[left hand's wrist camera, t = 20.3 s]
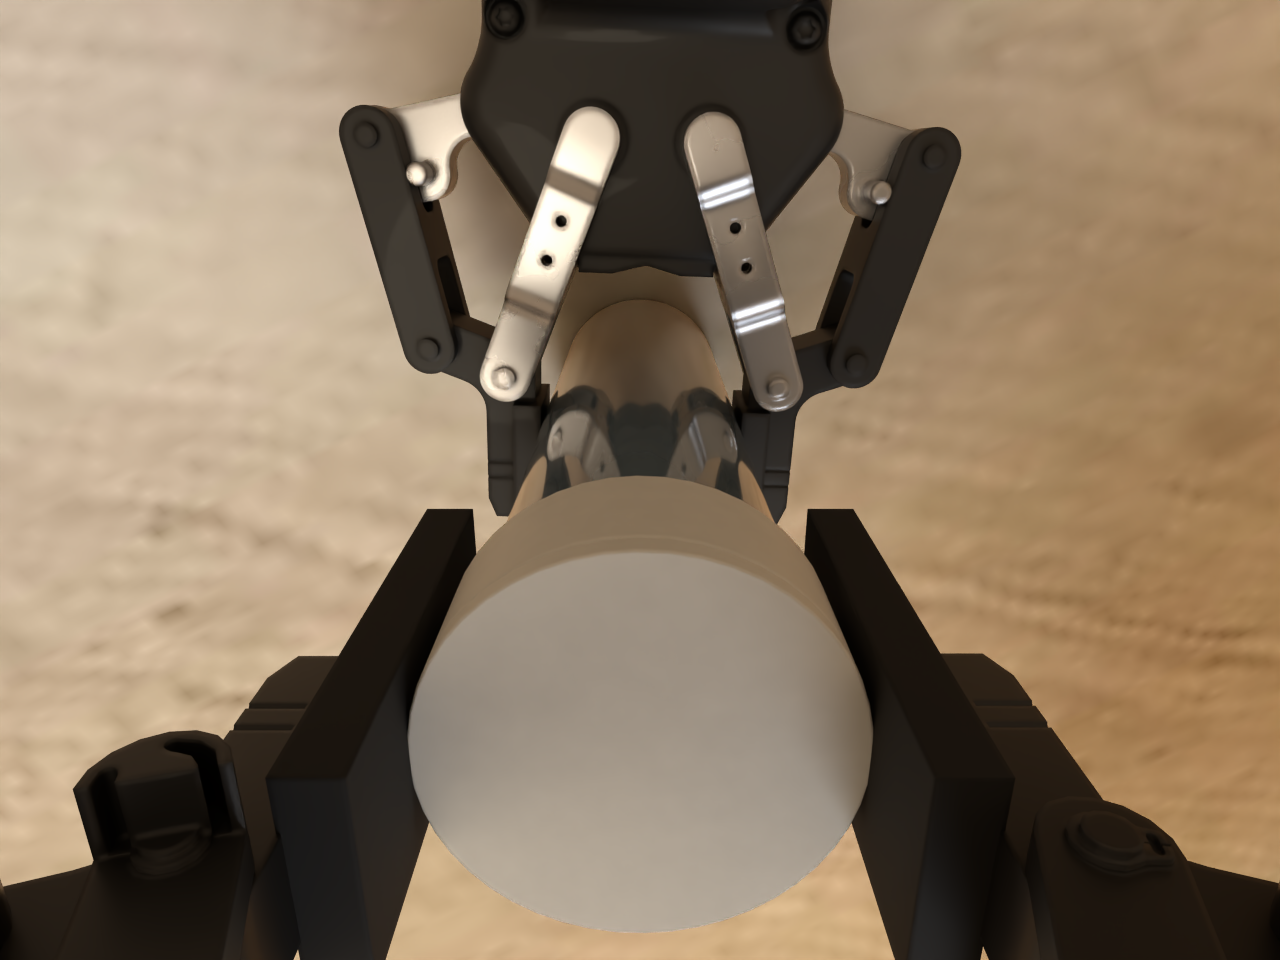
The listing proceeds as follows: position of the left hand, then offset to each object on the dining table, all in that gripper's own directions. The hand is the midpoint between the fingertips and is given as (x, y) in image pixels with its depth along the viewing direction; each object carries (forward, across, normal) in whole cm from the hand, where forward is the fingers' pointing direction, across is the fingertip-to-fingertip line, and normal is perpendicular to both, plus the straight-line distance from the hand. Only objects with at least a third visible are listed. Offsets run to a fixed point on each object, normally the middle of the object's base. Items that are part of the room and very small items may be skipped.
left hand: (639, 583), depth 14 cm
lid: (-4, 0, 0) cm, 4 cm away
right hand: (+8, 0, -3) cm, 9 cm away
